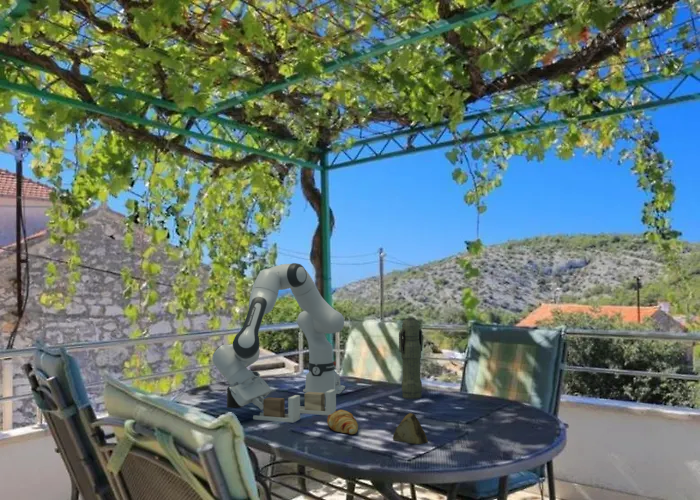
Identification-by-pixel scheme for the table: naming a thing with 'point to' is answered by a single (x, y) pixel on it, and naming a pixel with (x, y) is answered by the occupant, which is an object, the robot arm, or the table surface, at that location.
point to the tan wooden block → (315, 401)
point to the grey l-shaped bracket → (290, 417)
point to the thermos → (411, 358)
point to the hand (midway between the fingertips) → (264, 408)
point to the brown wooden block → (274, 407)
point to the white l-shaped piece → (330, 405)
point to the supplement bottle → (231, 400)
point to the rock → (410, 431)
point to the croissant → (342, 422)
